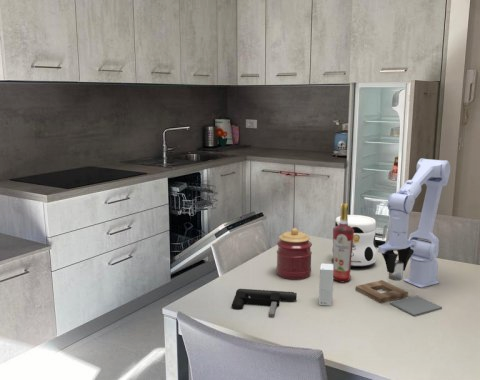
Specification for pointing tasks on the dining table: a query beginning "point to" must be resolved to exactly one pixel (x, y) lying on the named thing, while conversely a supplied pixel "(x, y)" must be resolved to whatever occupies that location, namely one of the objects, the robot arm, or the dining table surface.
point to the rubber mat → (415, 305)
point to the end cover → (397, 271)
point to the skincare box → (326, 284)
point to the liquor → (342, 247)
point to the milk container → (362, 240)
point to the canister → (294, 255)
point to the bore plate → (390, 295)
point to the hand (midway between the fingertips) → (396, 271)
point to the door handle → (262, 298)
